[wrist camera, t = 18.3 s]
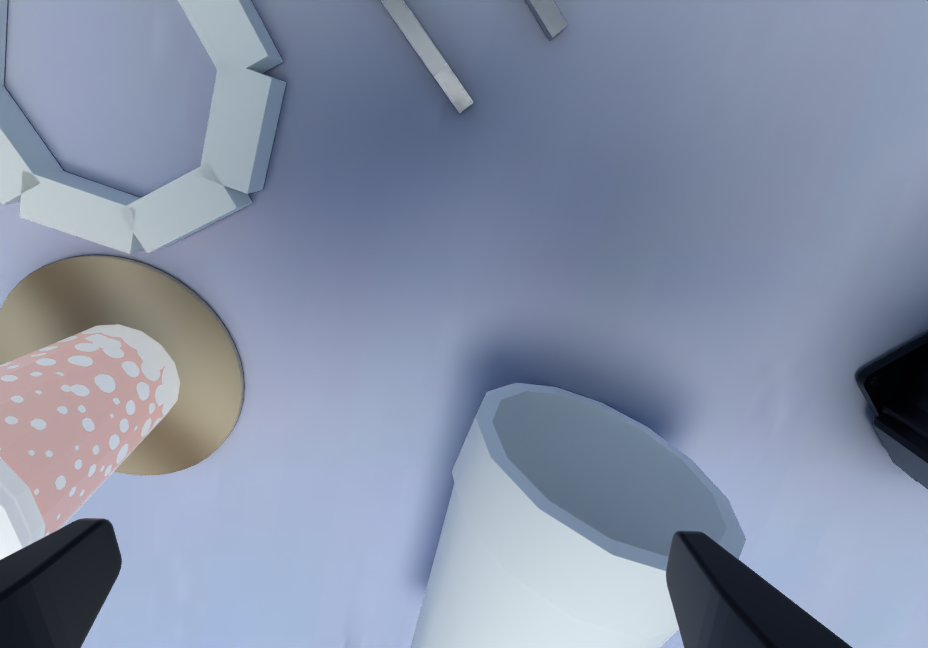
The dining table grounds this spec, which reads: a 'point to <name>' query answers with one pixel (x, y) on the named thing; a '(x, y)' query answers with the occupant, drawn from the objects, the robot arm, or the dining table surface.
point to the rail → (420, 41)
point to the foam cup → (564, 528)
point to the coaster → (157, 315)
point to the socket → (186, 198)
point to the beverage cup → (74, 423)
